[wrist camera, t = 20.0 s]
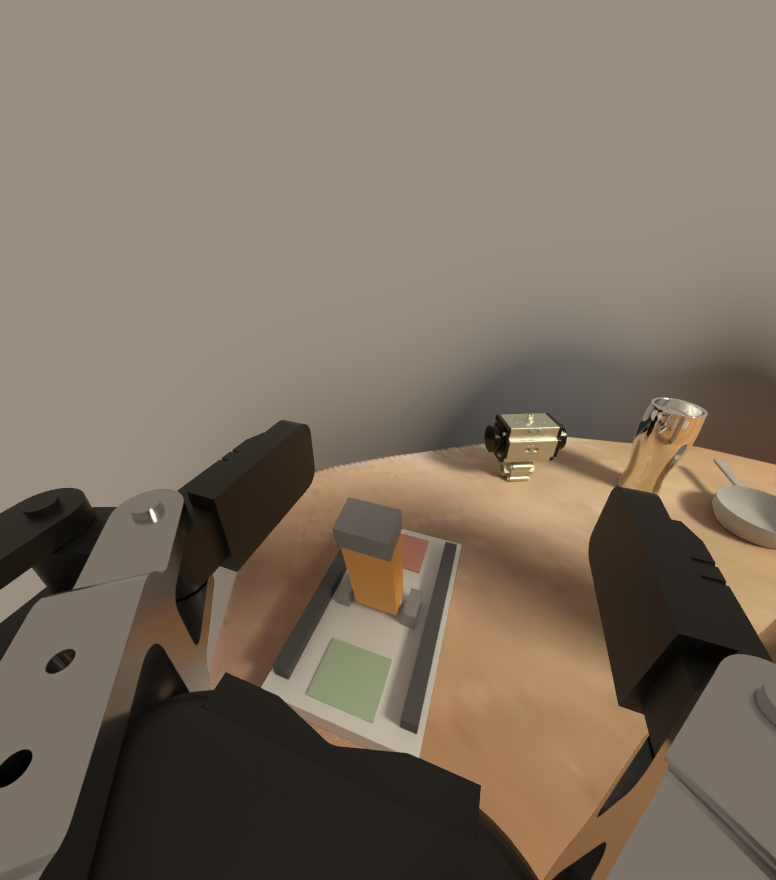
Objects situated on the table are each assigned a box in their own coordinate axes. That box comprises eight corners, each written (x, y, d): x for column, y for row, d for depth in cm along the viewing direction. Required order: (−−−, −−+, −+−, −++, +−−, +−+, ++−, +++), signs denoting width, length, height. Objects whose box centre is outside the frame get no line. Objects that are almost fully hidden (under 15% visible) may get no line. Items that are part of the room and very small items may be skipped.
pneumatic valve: (477, 469, 61) (488, 408, 54) (540, 466, 62) (558, 406, 56) (487, 489, 56) (502, 425, 50) (555, 486, 57) (577, 423, 51)
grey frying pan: (729, 547, 47) (745, 527, 45) (671, 471, 62) (681, 453, 60) (826, 564, 45) (847, 544, 43) (742, 481, 59) (754, 463, 57)
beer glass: (654, 479, 59) (696, 400, 51) (669, 505, 53) (719, 421, 46) (609, 471, 61) (643, 394, 53) (619, 496, 55) (659, 413, 47)
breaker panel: (416, 770, 27) (420, 751, 24) (263, 700, 30) (255, 678, 28) (459, 555, 44) (463, 533, 42) (360, 527, 48) (359, 506, 46)
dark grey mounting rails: (416, 734, 27) (418, 727, 26) (274, 674, 30) (272, 665, 30) (455, 552, 42) (457, 544, 42) (358, 526, 46) (358, 518, 45)
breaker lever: (398, 621, 35) (391, 545, 24) (354, 606, 36) (330, 528, 25) (406, 592, 37) (403, 511, 26) (364, 579, 38) (346, 496, 27)
